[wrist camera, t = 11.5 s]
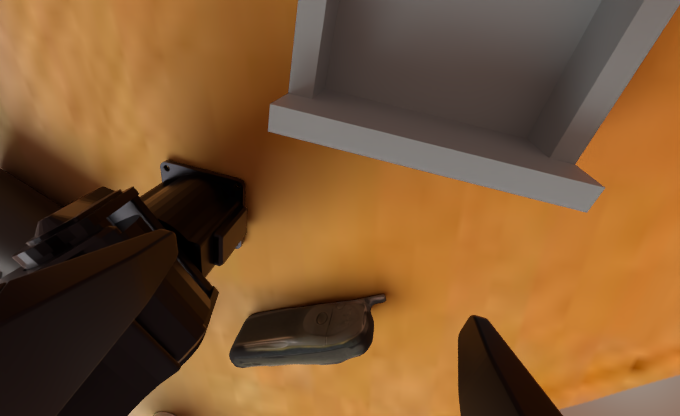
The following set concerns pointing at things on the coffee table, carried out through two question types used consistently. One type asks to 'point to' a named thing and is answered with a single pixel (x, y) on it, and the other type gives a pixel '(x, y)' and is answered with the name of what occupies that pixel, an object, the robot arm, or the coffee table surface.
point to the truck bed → (468, 85)
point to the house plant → (163, 414)
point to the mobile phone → (306, 334)
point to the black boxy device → (19, 218)
